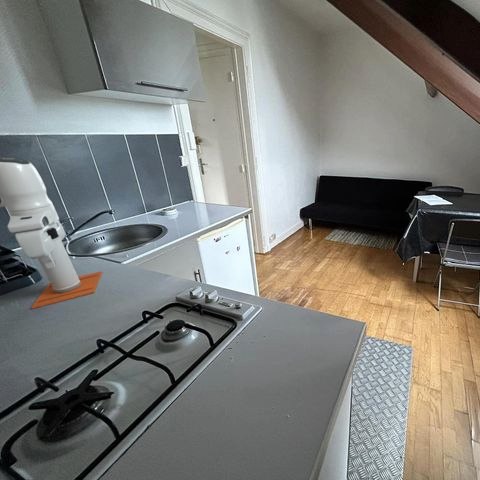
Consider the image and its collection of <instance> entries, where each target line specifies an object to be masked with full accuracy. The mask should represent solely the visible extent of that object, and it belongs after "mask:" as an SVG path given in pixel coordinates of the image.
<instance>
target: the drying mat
mask: <svg viewBox="0 0 480 480" xmlns="http://www.w3.org/2000/svg"><path fill="white" fill-rule="evenodd" d="M102 274H103V270H101V271H96V272H92V273H88V274H84V275H78V278H79V280H80V282H81V285H80V286H79V287H78V288H76V289H74V290H71V291H69V292H65V293H55V291H54V289H53V287H52V285H51V284H50V283H48V285H46V287H45V288H44V289H43V291H42V292H41V293H40V295H39V296H38V297H37V299H36V300H35V302H34V303H33V304H32V306H31V307H30V310H34V309H38V308H42V307H45V306H50V305H54V304H57V303H61V302H64V301H68V300H72V299H76V298H79V297H84V296H86V295H91V294H94V293H95V291H96V290H97V287H98V283H99V282H100V279H101V276H102Z"/></svg>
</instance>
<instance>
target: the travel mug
mask: <svg viewBox="0 0 480 480" xmlns="http://www.w3.org/2000/svg"><path fill="white" fill-rule="evenodd" d="M47 234H48V236H51V239H52V241H53V243H54V245H55V248H54V249H53V250H52V251H51V252H50V254H51V258H52V259H53V260H55V263H56V265H55V267H53V268H47V267H46V266H45V264H44V263H43V262H42V261H41V260H40V259H39V258H37V260H38V262H39V264H40V266H41V268H42V270H43V272H44V274H45V276H46V278H47V280H48V281H49V284H51V285H52V287H53V289H54V291H55V293H65V292H69V291H71V290H74V289H76V288H78V287H79V286H80V285H81V282H80V280H79V278H78V277H79V275H78V273H77V271H76V269H75V267H74V265H73V263H72V261H71V258H70V256H69V253H68V251H67V250H66V247H65V245H64V243H63V240H62V241H61V239H60V237H59V235H58V234H57V231H56V228H52V229H50V230H47Z"/></svg>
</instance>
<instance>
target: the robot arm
mask: <svg viewBox="0 0 480 480" xmlns="http://www.w3.org/2000/svg"><path fill="white" fill-rule="evenodd" d="M47 193H48V192H47V187H46V184H45V183H44V180H43V178H42V177H41V175H40V173H39V172H38V170H37V168H36V167H35V165H33V164H32V162H30V161H29V160H27V159H25V158H21V157H5V156H1V155H0V208H4V207H5V208H6V210H7V212H8V214H9V222H8V224H7V229H8V231H9V232H10V233H11V234H14V235H15V239H16V242H17V243H18V245H19V247H20V248H21V250H22V252H23V253H24V255H25V256H26V257H27V258H28V259H30V260H35V259H38V258H39V259H40V260H41V261H42V262H43V263H44V264H45V266H46V267H47V268H53V267H55V265H56V263H55V260H53V259H52V258H51V254H50V252H51V251H52V250H53V249H54V248H55V245H54V243H53V241H52V239H51V236H48V234H47V230H50V229H52V228H56V231H57V234H58V235H59V237H60V239H61V241H62V242H63V240H64V239H65V238H66V237H67V235H66V231H65V229H64V227H63V225H62V224H61V222H60V217H59V214H58V213H57V209H56V207H55V205H54V204H53V201H52V200H51V199H50V197H49V196H48V194H47Z"/></svg>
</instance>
